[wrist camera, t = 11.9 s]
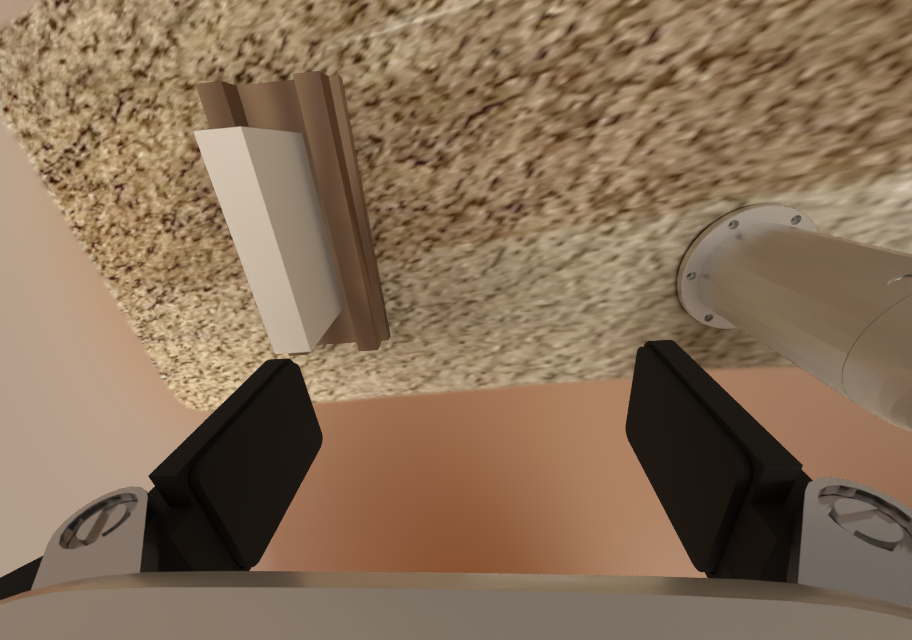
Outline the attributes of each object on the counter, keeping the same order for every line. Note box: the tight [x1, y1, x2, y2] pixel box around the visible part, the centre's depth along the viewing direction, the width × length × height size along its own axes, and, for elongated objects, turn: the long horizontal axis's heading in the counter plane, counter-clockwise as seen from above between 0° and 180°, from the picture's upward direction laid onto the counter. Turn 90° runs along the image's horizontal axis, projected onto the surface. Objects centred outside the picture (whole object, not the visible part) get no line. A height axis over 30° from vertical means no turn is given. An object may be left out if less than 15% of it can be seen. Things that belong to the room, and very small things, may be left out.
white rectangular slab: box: [193, 127, 344, 354], centre depth 29 cm, size 3×16×9 cm, turn 5°
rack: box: [196, 71, 390, 356], centre depth 32 cm, size 11×24×3 cm, turn 5°
